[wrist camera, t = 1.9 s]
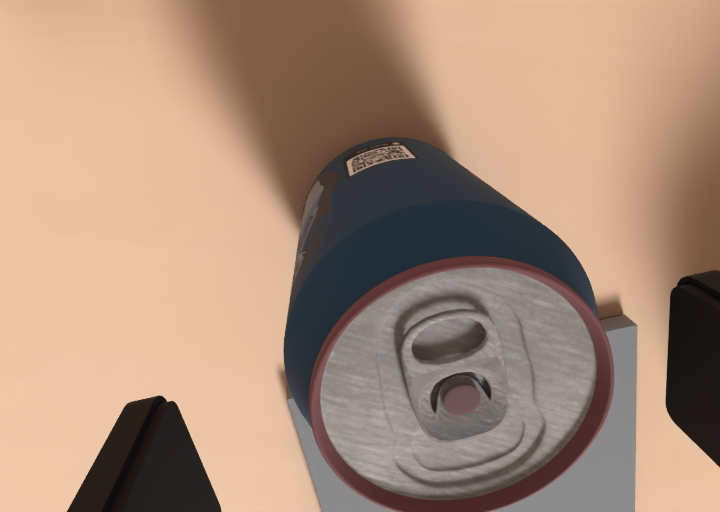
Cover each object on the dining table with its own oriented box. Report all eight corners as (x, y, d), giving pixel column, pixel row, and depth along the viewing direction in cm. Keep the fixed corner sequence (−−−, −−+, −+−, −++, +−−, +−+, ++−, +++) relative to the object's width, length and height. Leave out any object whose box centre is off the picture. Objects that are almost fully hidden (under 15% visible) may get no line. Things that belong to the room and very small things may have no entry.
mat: (624, 314, 23) (637, 324, 22) (624, 550, 28) (634, 566, 28) (288, 385, 23) (286, 399, 22) (356, 606, 29) (358, 624, 28)
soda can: (481, 271, 21) (653, 495, 10) (328, 311, 22) (333, 574, 10) (453, 112, 19) (642, 178, 8) (280, 159, 19) (218, 289, 8)
